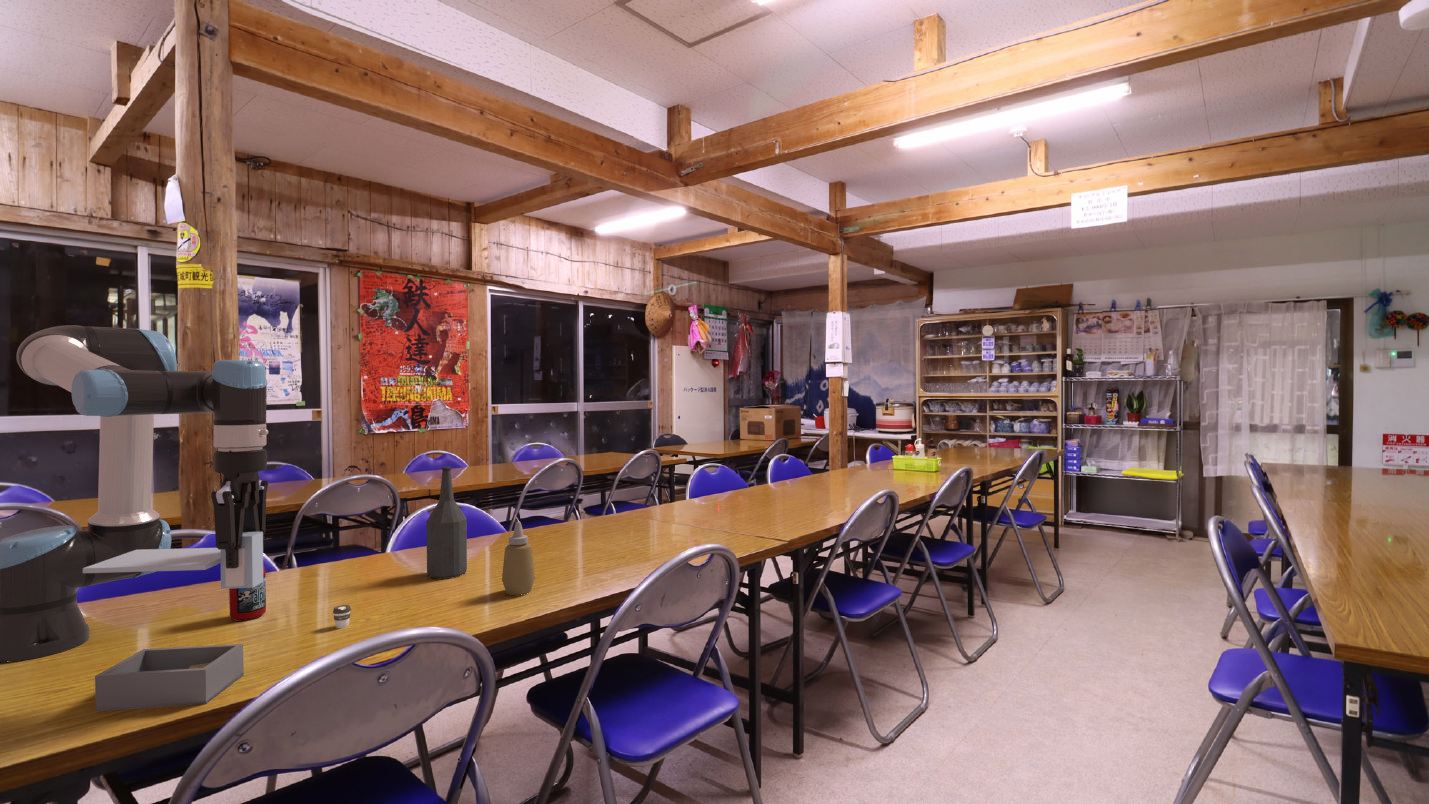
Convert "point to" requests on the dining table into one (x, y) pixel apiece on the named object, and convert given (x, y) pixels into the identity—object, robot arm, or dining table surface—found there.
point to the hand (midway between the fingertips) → (242, 581)
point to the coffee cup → (342, 616)
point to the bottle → (446, 534)
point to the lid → (188, 560)
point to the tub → (169, 677)
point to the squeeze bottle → (518, 564)
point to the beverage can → (248, 601)
